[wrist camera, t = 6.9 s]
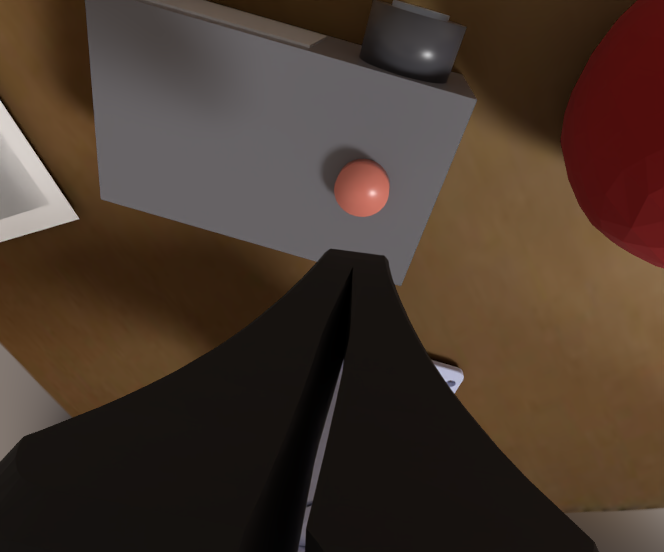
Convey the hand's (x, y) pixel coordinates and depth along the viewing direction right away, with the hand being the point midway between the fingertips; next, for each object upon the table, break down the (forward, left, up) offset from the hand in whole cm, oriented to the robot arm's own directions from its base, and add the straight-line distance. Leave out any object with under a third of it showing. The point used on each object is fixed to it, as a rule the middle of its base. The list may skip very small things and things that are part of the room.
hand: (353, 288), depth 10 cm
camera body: (0, +4, -10) cm, 11 cm away
